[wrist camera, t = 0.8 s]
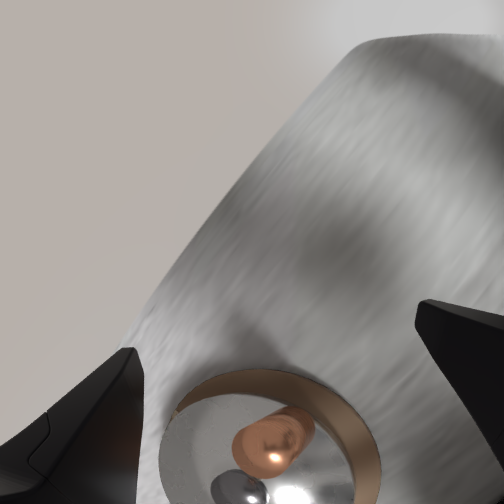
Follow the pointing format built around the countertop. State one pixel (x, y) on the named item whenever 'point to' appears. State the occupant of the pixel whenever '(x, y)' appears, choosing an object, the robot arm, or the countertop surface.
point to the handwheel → (253, 454)
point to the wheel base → (315, 402)
